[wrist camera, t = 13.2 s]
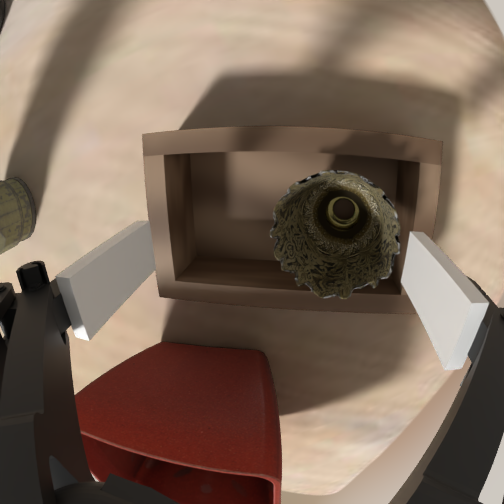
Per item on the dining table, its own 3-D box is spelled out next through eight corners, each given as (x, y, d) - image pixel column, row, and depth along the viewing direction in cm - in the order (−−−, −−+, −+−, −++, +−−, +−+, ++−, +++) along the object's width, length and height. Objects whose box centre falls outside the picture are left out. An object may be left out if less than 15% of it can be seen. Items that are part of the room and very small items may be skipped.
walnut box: (176, 132, 24) (142, 134, 19) (413, 138, 21) (442, 141, 16) (185, 266, 29) (159, 296, 23) (397, 278, 26) (415, 313, 20)
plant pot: (298, 325, 29) (281, 480, 14) (293, 433, 36) (278, 540, 21) (129, 313, 33) (43, 414, 17) (165, 416, 40) (122, 504, 24)
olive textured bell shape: (318, 264, 25) (299, 313, 18) (283, 183, 24) (247, 202, 17) (401, 236, 22) (416, 278, 15) (368, 148, 21) (372, 149, 14)
